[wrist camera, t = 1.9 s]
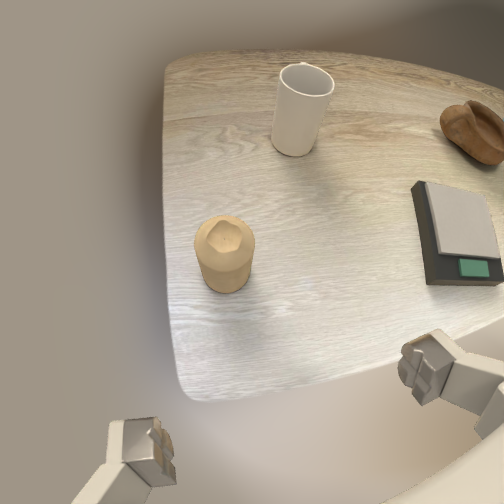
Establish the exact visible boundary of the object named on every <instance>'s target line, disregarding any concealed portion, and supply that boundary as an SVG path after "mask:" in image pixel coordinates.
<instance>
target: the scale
mask: <svg viewBox="0 0 504 504" xmlns="http://www.w3.org/2000/svg"><path fill="white" fill-rule="evenodd" d="M411 192H412V196H413V201H414V206H415V211H416V216H417V222H418V227H419V233H420V239H421V246H422V252H423V260H424V267H425V276H426V284H427V285H463V286H496V285H498V284H500V283H503V282H504V275H503V269H502V263H501V258H500V253H499V248H498V243H497V239H496V234H495V230H494V226H493V222H492V218H491V214H490V211H489V207H488V204H487V200H486V197H485V195H483V194H479V193H475V192H471V191H467V190H463V189H458V188H454V187H450V186H445V185H441V184H436V183H432V182H423V181H417V183H416V184H415V185H414V186H413V187H412V188H411Z"/></svg>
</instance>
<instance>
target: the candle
mask: <svg viewBox="0 0 504 504" xmlns="http://www.w3.org/2000/svg"><path fill="white" fill-rule="evenodd" d="M194 247H195V252H196V255H197V259H198V262H199V265H200V268H201V272H202V275H203V278H204V280H205V282H206V283H207V285H208V286H209V287H210V288H212V289H213V290H215V291H217V292H221V293H231V292H235V291H237V290H239V289H240V288H241V287H243V286H244V284H245V283H246V282H247V280H248V278H249V274H250V269H251V264H252V259H253V253H254V248H255V239H254V235H253V232H252V230H251V229H250V227H249V226H248V225H247V224H246V223H245V222H244V221H242V220H241V219H239V218H236V217H233V216H227V215H222V216H217V217H213V218H211V219H209V220H207V221H206V222H205V223H203V224H202V225H201V227H200V228H199V229H198V231H197V233H196V236H195V240H194Z"/></svg>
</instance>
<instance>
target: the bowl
mask: <svg viewBox="0 0 504 504" xmlns="http://www.w3.org/2000/svg"><path fill="white" fill-rule="evenodd" d="M440 125H441V128H442V131H443V133H444V134H445V135H446V137H447V138H449V139H450V140H451V141H453V142H454V143H456V144H457V145H458V146H460V147H461V148H462V149H463V150H464V151H466V152H467V153H468V154H469V155H471V156H472V157H474V158H475V159H476V160H478V161H480V162H482V163H484V164H488V165H498V164H499V163H501V162H502V161H503V160H504V121H503V120H502V119H501V118H500V117H499V116H498V115H497V114H496V113H494V112H493V111H492V110H490V109H489V108H488V107H486V106H484V105H482V104H481V103H479V102H476V101H472V100H470V101H467V102H466V103H465V104H464V105H463V106H462V105H453V106H450V107H448V108H446V109H445V110H444V111H443V113H442V114H441V116H440Z"/></svg>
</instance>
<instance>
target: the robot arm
mask: <svg viewBox="0 0 504 504" xmlns="http://www.w3.org/2000/svg"><path fill="white" fill-rule="evenodd" d="M401 353H402V355H403V357H402V358H401V359H400V361H399V363H398V373H399V376H400V379H401V381H402V382H403V383H404V385H405V386H408V387H411V388H412V395H413V396H414V397H415V399H416V400H417V401H418V403H419V404H420V405H421V406H423V405H425V404H427V403H429V402H431V401H432V400H434V399H436V398H438V397H440V398H442V399H444V400H446V401H448V402H450V403H453V404H455V405H457V406H459V407H461V408H464V409H466V410H468V411H470V412H473V413H475V414H477V415H479V416H480V418H479V419H478V421H477V422H476V424H475V426H474V429H475V431H476V432H477V433H478V435H479V436H480V437H481V438H482V441H481V442H479V443H478V444H477V445H476V446H474V447H473V448H472V449H470V450H469V451H468V452H466V453H465V454H463V455H462V456H461V457H459V458H458V459H456V460H455V461H453V462H452V463H451V464H449V465H448V466H446V467H445V468H443V469H441V470H440V471H438V472H437V473H435V474H434V475H432V476H430V477H429V478H427V479H425V480H424V481H422V482H420V483H419V484H417V485H415V486H413V487H411V488H410V489H408V490H406V491H404V492H403V493H401V494H399V495H397V496H395V497H393V498H391V499H389V500H387V501H385V502H383V503H380V504H504V361H500V360H497V359H492V358H489V357H486V356H482V355H478V354H475V353H471V352H469V353H466V352H465V351H464V350H463V349H462V348H460V347H459V346H458V345H457V344H456V343H455V342H454V341H453V340H452V339H451V338H450V337H449V336H448V335H447V334H445V333H444V332H443V331H442V330H441V329H435V330H433V331H431V332H429V333H427V334H424V335H422V336H420V337H418V338H416V339H414V340H412V341H410V342H408V343H406V344H404V345H403V347H402V350H401ZM173 456H174V452H173V446H172V442H171V439H170V436H169V434H168V433H167V431H166V430H165V429H162V428H161V422H160V420H159V419H158V417H149V418H139V419H128V420H118V421H111V423H110V425H109V430H108V440H107V452H106V464H101V465H100V467H99V468H98V469H97V471H96V472H95V473H94V475H93V476H92V477H91V478H90V480H89V481H88V482H87V484H86V485H85V486H84V487H83V489H82V490H81V491H80V493H79V494H78V495H77V496H76V498H75V499H74V500H73V502H72V503H71V504H144V503H145V502H146V500H147V498H148V495H149V494H150V492H151V490H152V488H151V487H160V486H168V485H176V484H177V483H176V475H175V474H176V473H175V467H174V466H173V464H172V463H171V462H170V461H171V459H172V458H173Z"/></svg>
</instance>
